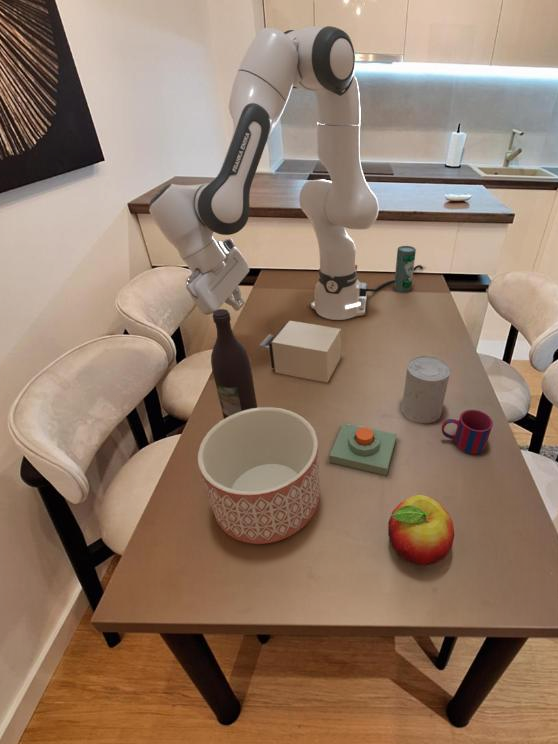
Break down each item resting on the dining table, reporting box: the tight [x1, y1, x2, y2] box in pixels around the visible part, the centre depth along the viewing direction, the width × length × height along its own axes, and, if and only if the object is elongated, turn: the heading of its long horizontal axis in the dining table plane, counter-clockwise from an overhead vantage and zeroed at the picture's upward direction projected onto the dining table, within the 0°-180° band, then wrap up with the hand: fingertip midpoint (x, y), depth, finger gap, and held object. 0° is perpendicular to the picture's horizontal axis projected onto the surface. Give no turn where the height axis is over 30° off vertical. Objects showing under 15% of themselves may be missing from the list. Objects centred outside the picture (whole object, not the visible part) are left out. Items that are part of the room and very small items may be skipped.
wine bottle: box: [210, 308, 258, 419], centre depth 78 cm, size 7×7×30 cm
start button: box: [356, 426, 373, 446], centre depth 82 cm, size 4×4×2 cm
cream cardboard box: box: [272, 320, 342, 384], centre depth 106 cm, size 15×12×10 cm
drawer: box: [258, 323, 287, 369], centre depth 106 cm, size 18×10×8 cm, turn 74°
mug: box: [441, 409, 494, 455], centre depth 85 cm, size 7×10×7 cm
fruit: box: [387, 494, 455, 567], centre depth 65 cm, size 11×11×10 cm
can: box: [393, 245, 417, 293], centre depth 144 cm, size 6×6×15 cm
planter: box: [197, 406, 321, 545], centre depth 70 cm, size 19×19×15 cm
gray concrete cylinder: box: [401, 355, 452, 424], centre depth 92 cm, size 10×10×12 cm
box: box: [328, 422, 397, 476], centre depth 83 cm, size 10×12×4 cm
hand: (240, 307), depth 101 cm, fingers closed
